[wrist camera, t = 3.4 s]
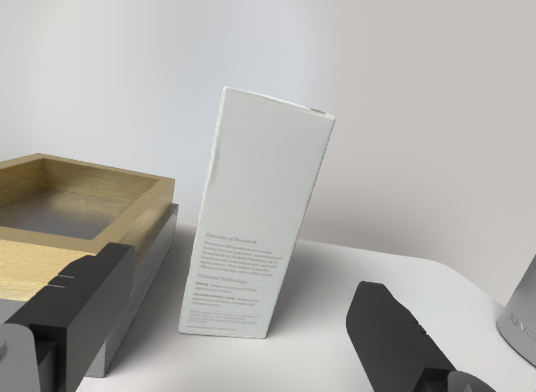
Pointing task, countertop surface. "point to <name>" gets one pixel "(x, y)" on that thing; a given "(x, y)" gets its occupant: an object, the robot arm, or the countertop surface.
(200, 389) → the countertop surface
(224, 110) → the skincare box
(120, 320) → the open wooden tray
